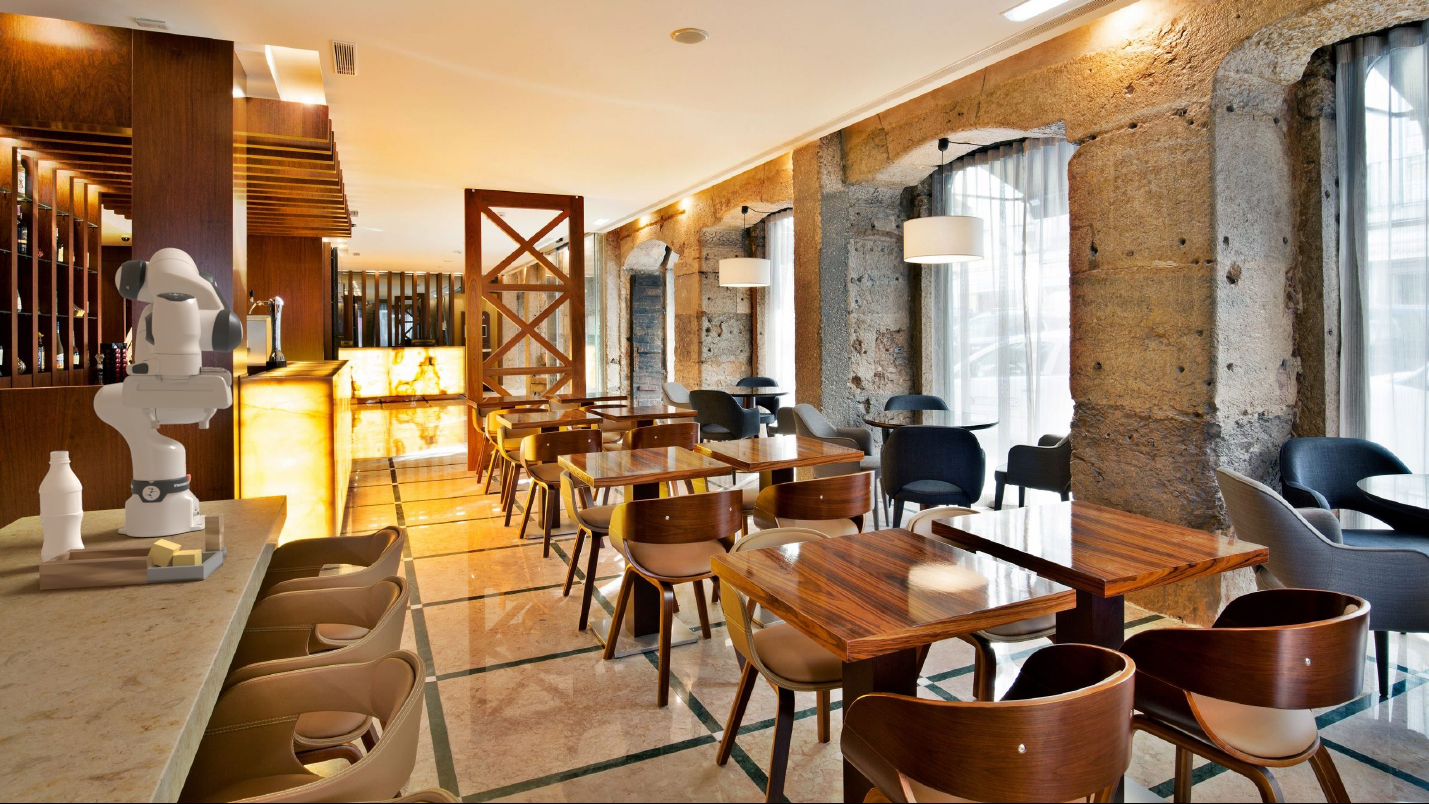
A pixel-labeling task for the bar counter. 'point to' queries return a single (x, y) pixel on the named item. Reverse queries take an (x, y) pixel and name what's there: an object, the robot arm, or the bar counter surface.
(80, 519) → the water bottle
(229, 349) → the robot arm
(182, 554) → the pale yellow cube
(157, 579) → the tray
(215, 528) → the wooden post on base
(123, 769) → the bar counter surface
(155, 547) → the pale yellow block
